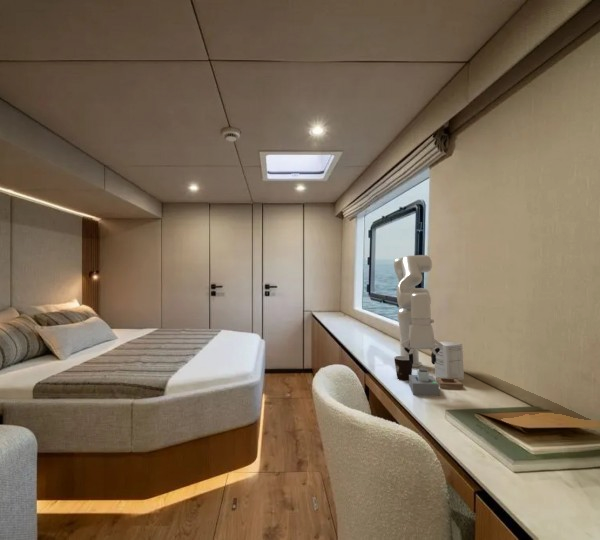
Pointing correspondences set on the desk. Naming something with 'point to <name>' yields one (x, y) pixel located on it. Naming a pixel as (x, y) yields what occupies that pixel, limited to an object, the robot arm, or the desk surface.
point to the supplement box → (449, 360)
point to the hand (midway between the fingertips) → (422, 363)
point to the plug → (423, 374)
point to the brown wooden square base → (449, 383)
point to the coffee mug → (403, 367)
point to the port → (423, 386)
